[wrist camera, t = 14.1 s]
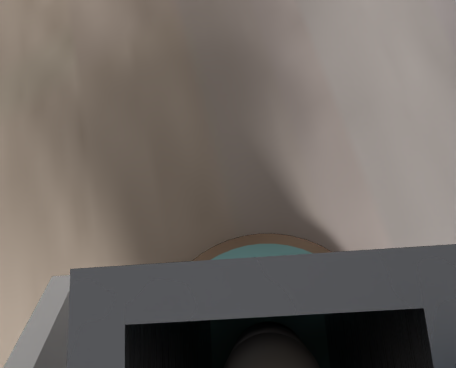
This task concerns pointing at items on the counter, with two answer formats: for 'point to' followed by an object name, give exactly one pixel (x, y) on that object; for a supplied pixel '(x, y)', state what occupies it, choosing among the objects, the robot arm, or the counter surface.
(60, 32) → the counter surface
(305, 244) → the post stand
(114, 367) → the grey square holder
